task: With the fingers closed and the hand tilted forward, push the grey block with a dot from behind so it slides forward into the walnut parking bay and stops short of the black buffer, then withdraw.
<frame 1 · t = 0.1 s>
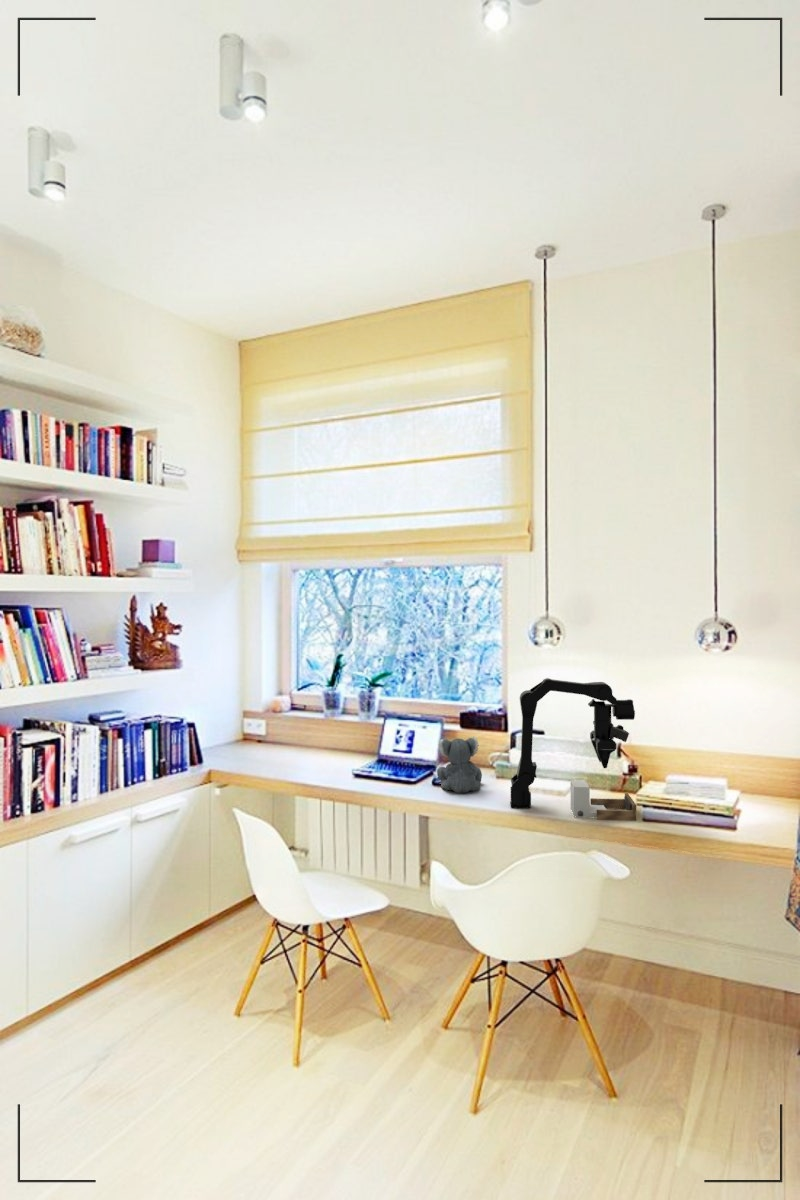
hand: (602, 764, 260), 15 cm above the table, tool pointing down, fingers open, 9 cm apart
grey block with dot: (589, 813, 254), on the table
parking bay: (612, 813, 253), on the table
koala plush: (460, 788, 287), on the table
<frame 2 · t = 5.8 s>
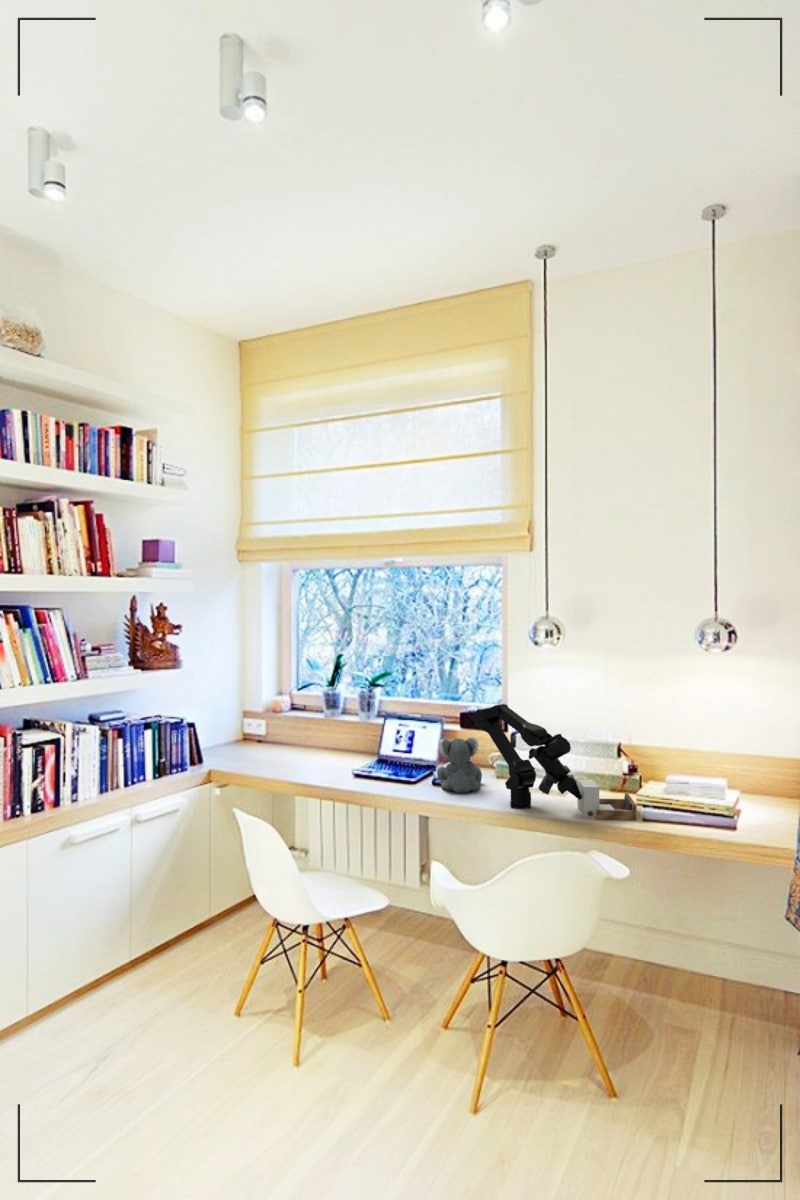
hand: (580, 798, 252), 5 cm above the table, tool tilted 40°, fingers closed
grey block with dot: (597, 812, 254), on the table, touching gripper
everything else where it was.
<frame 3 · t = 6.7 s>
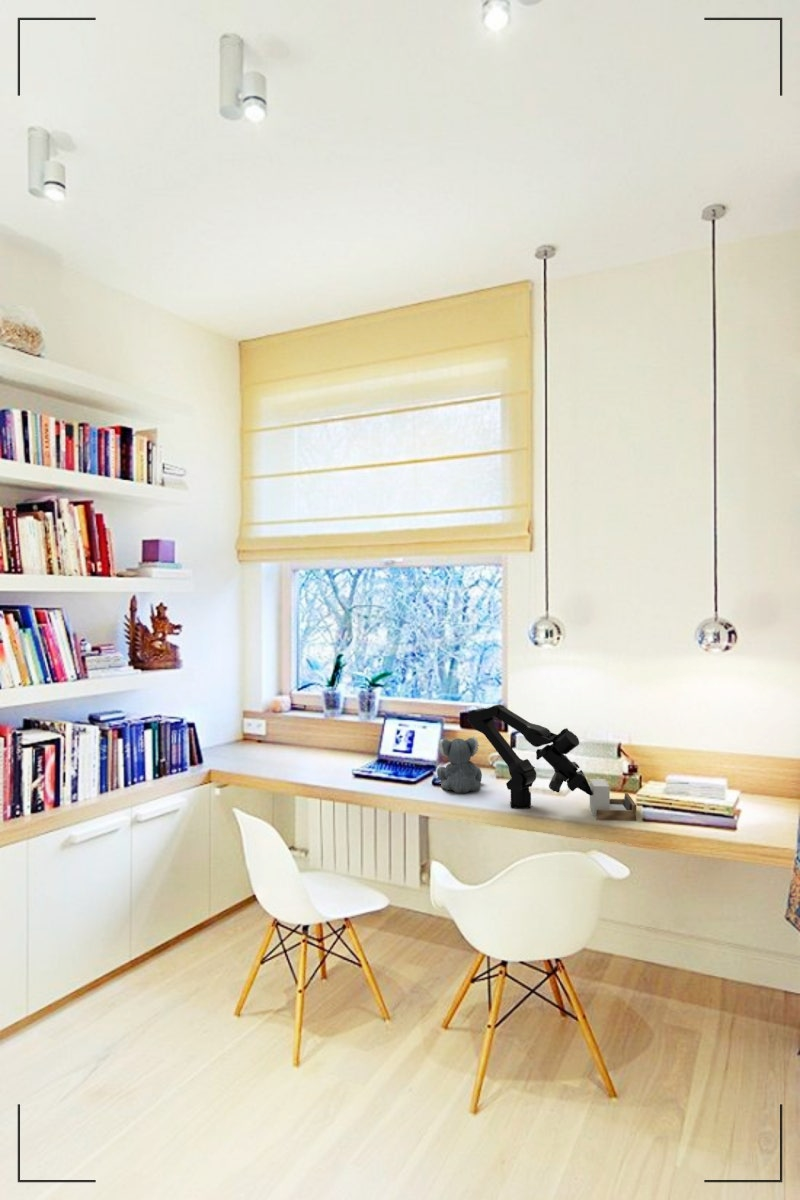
hand: (591, 793, 253), 6 cm above the table, tool tilted 45°, fingers closed
grey block with dot: (608, 812, 254), on the table, touching gripper
everything else where it was.
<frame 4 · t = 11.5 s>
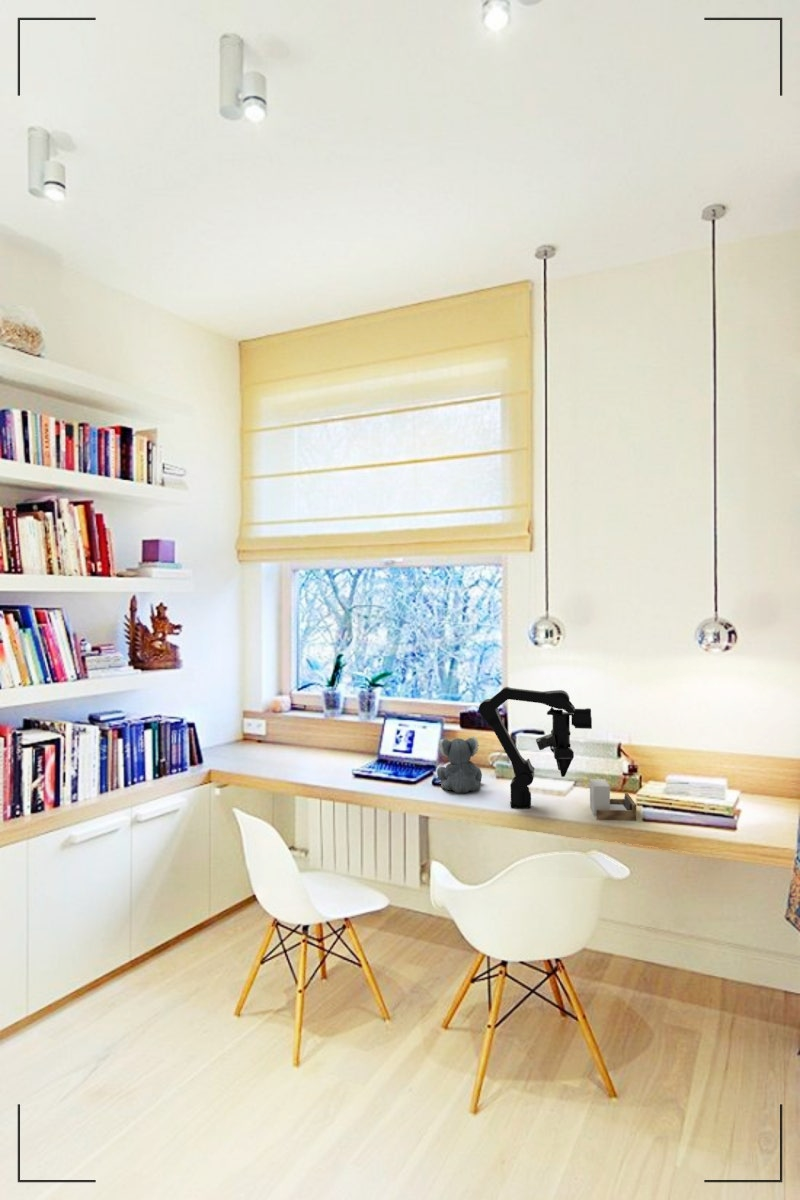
hand: (561, 773, 259), 12 cm above the table, tool pointing down, fingers open, 9 cm apart
grey block with dot: (608, 812, 254), on the table
everything else where it was.
at the end: grey block with dot inside the target area (1.3 cm from its centre), on the table; grey block with dot tilted 0°; grey block with dot moved 6.8 cm from its start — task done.
